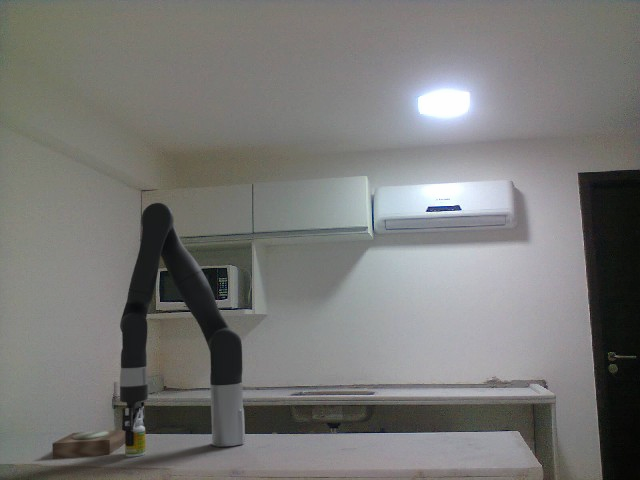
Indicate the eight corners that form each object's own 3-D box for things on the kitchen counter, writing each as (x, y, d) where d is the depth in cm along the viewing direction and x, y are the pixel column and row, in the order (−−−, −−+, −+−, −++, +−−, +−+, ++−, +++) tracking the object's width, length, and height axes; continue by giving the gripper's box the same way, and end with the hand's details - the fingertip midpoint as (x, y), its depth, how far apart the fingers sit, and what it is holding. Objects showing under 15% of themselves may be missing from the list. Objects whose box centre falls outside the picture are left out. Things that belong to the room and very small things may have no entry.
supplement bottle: (139, 457, 166) (139, 420, 168) (121, 457, 168) (121, 421, 169) (149, 452, 172) (148, 417, 173) (131, 452, 173) (130, 417, 174)
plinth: (125, 442, 188) (125, 427, 189) (109, 454, 172) (109, 437, 173) (73, 446, 188) (73, 431, 188) (52, 458, 172) (52, 441, 172)
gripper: (140, 385, 165) (140, 447, 163) (153, 380, 179) (153, 437, 177) (112, 387, 165) (112, 449, 163) (127, 381, 179) (127, 438, 177)
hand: (134, 442), depth 170 cm, fingers open, 8 cm apart
